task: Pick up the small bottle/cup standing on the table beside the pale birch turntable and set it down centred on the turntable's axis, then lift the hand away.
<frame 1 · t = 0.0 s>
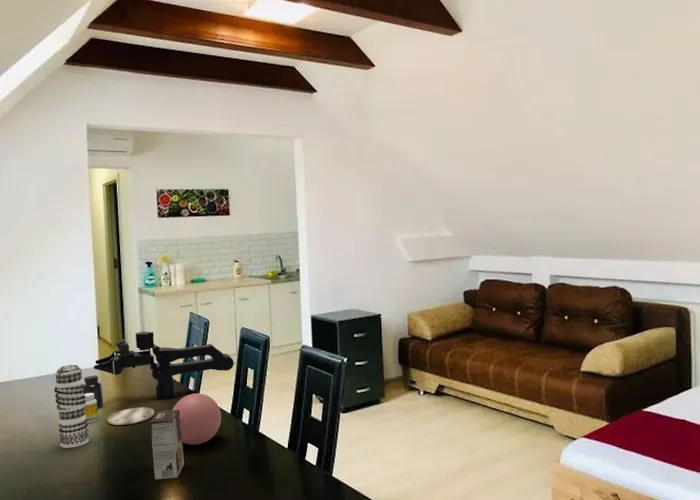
hand: (94, 364, 230), 17 cm above the table, tool horizontal, fingers open, 9 cm apart
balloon: (190, 445, 185), on the table
coffee box: (169, 472, 165), on the table
supplement bottle: (93, 407, 231), on the table
turntable: (131, 415, 214), point 1 cm above the table, hinge at 0.0°
decorative candle: (74, 443, 193), on the table
supplement bottle 2: (90, 421, 215), on the table
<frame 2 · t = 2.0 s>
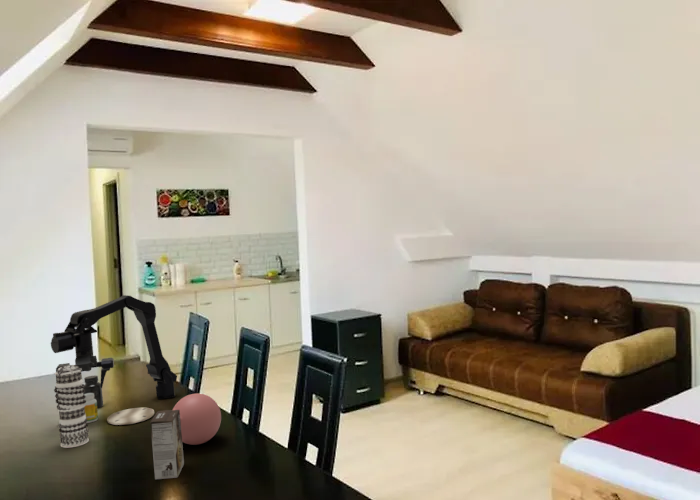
hand: (87, 389, 214), 11 cm above the table, tool pointing down, fingers open, 9 cm apart
nothing on the table moved.
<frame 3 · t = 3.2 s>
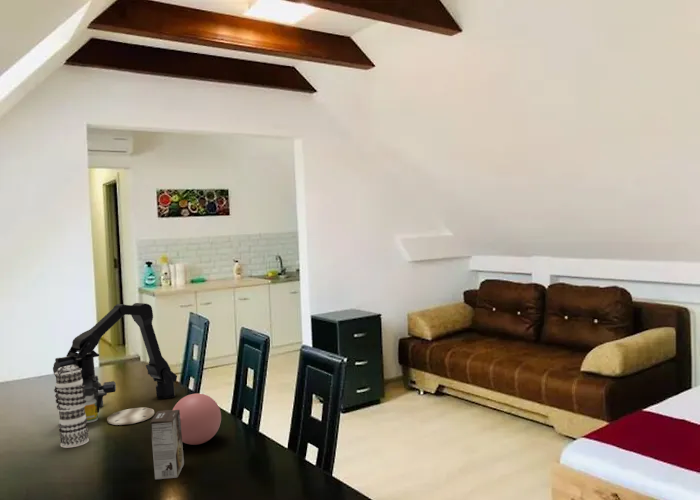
hand: (89, 413, 215), 3 cm above the table, tool pointing down, fingers closed on supplement bottle 2, 5 cm apart
supplement bottle 2: (90, 421, 215), on the table, touching gripper
everything else where it was.
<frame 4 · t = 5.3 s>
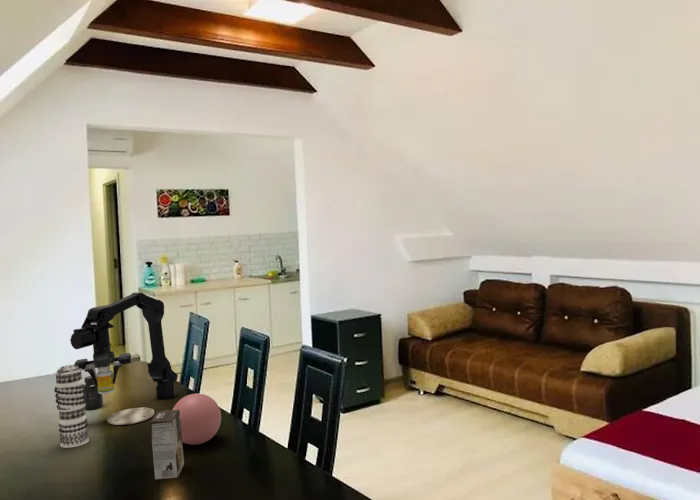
hand: (105, 385, 214), 13 cm above the table, tool pointing down, fingers closed on supplement bottle 2, 5 cm apart
supplement bottle 2: (106, 392, 214), point 10 cm above the table, touching gripper
everything else where it was.
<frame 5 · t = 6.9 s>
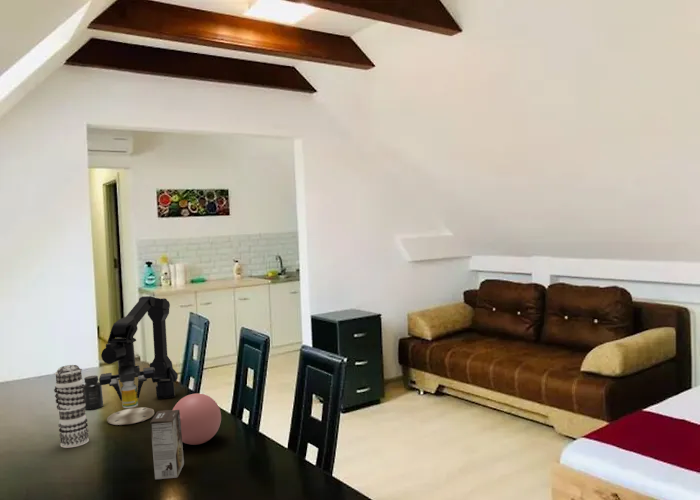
hand: (129, 399, 214), 7 cm above the table, tool pointing down, fingers closed on supplement bottle 2, 5 cm apart
supplement bottle 2: (130, 406, 214), point 4 cm above the table, touching gripper
everything else where it was.
when the fingers open (5 cm above the table, at t = 7.7 s): supplement bottle 2 drops 1 cm, resting on turntable.
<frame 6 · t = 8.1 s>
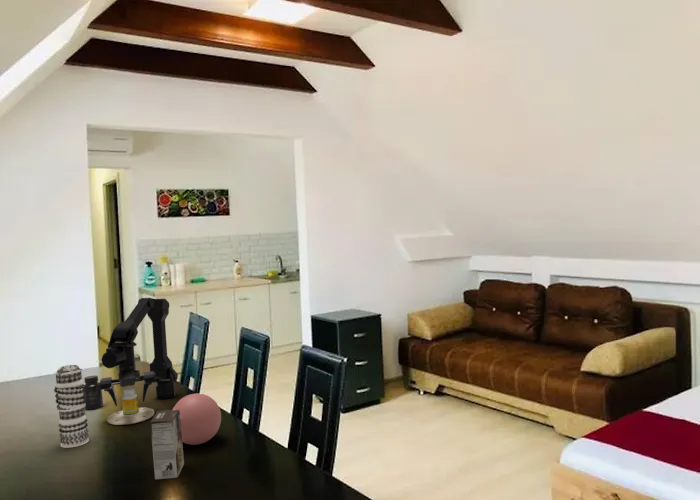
hand: (130, 403, 214), 5 cm above the table, tool pointing down, fingers open, 9 cm apart
turntable: (131, 415, 214), point 1 cm above the table, hinge at 0.0°, touching supplement bottle 2
supplement bottle 2: (131, 415, 214), point 1 cm above the table, touching turntable
everything else where it was.
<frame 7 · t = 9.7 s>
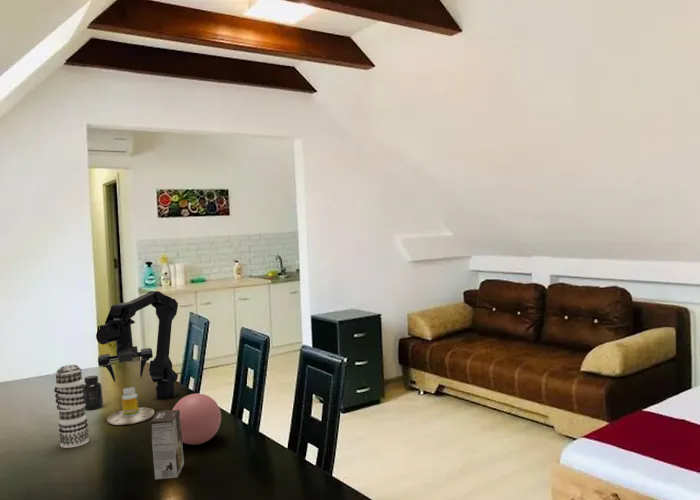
hand: (128, 379, 220), 13 cm above the table, tool pointing down, fingers open, 9 cm apart
nothing on the table moved.
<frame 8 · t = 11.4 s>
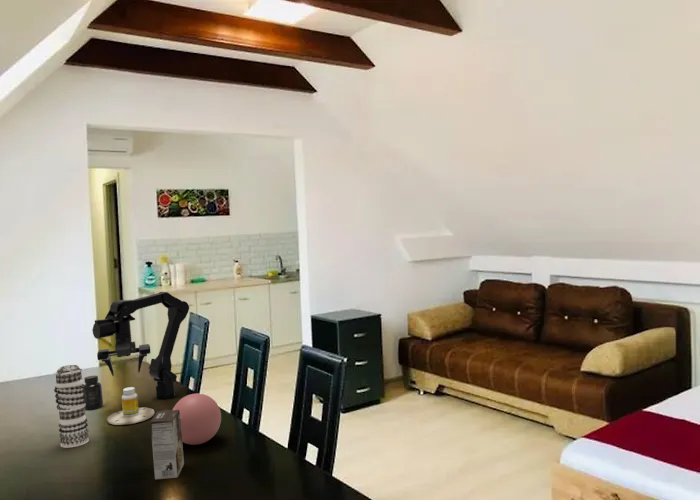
hand: (126, 374, 227), 13 cm above the table, tool pointing down, fingers open, 9 cm apart
nothing on the table moved.
at the end: supplement bottle 2 0.1 cm from the turntable (horizontally); supplement bottle 2 tilted 1°; supplement bottle 2 touching turntable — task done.
